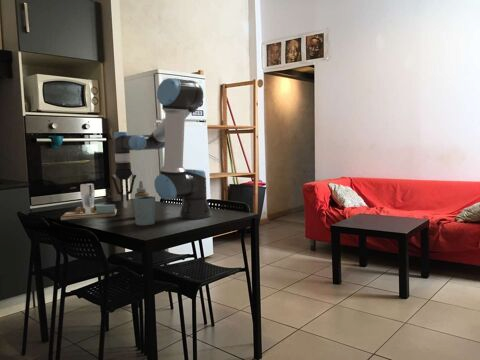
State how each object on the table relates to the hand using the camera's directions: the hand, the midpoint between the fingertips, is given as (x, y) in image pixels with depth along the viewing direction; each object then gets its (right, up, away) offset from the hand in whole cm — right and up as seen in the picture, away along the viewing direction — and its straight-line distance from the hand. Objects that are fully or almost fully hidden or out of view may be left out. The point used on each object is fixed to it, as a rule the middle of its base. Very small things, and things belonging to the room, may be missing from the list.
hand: (125, 207), depth 220 cm
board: (-19, -4, +2) cm, 20 cm away
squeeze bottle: (+11, -5, -9) cm, 15 cm away
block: (-9, -3, -2) cm, 10 cm away
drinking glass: (+16, -6, -26) cm, 31 cm away
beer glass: (-20, -3, +4) cm, 21 cm away
